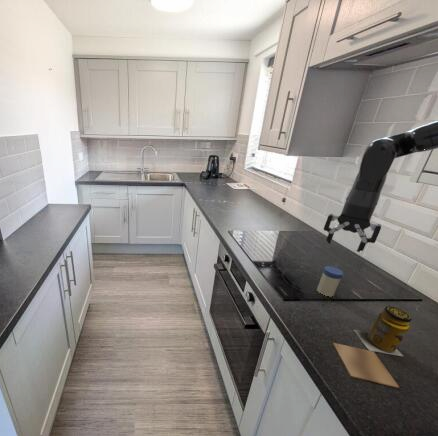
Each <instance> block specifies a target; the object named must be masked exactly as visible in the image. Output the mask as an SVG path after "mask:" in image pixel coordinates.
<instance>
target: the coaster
mask: <svg viewBox="0 0 438 436" xmlns="http://www.w3.org/2000/svg"><path fill="white" fill-rule="evenodd" d="M332 345H333V348H334V349H335V351H336V352H337V354H338V356H339V358H340V360H341V362H342V363H343V365H344V367H345V369H346V370H347V372H348V375H349V377H351V378H355V379H358V380H363V381H367V382H371V383H375V384H379V385H383V386H388V387H392V388H395V389H400V386H399V384H398V383H397V381H395V379H394V378H393V376H392V375H391V373H390V372H389V371H388V369H387V368H386V366H385V365H384V364H383V362H382V361H381V359H380V358H379V357H378V356H377V354H376V352H375V351H369V350H368V349H363V348H359V347H354V346H350V345H346V344H342V343H338V342H337V343H336V342H332Z"/></svg>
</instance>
